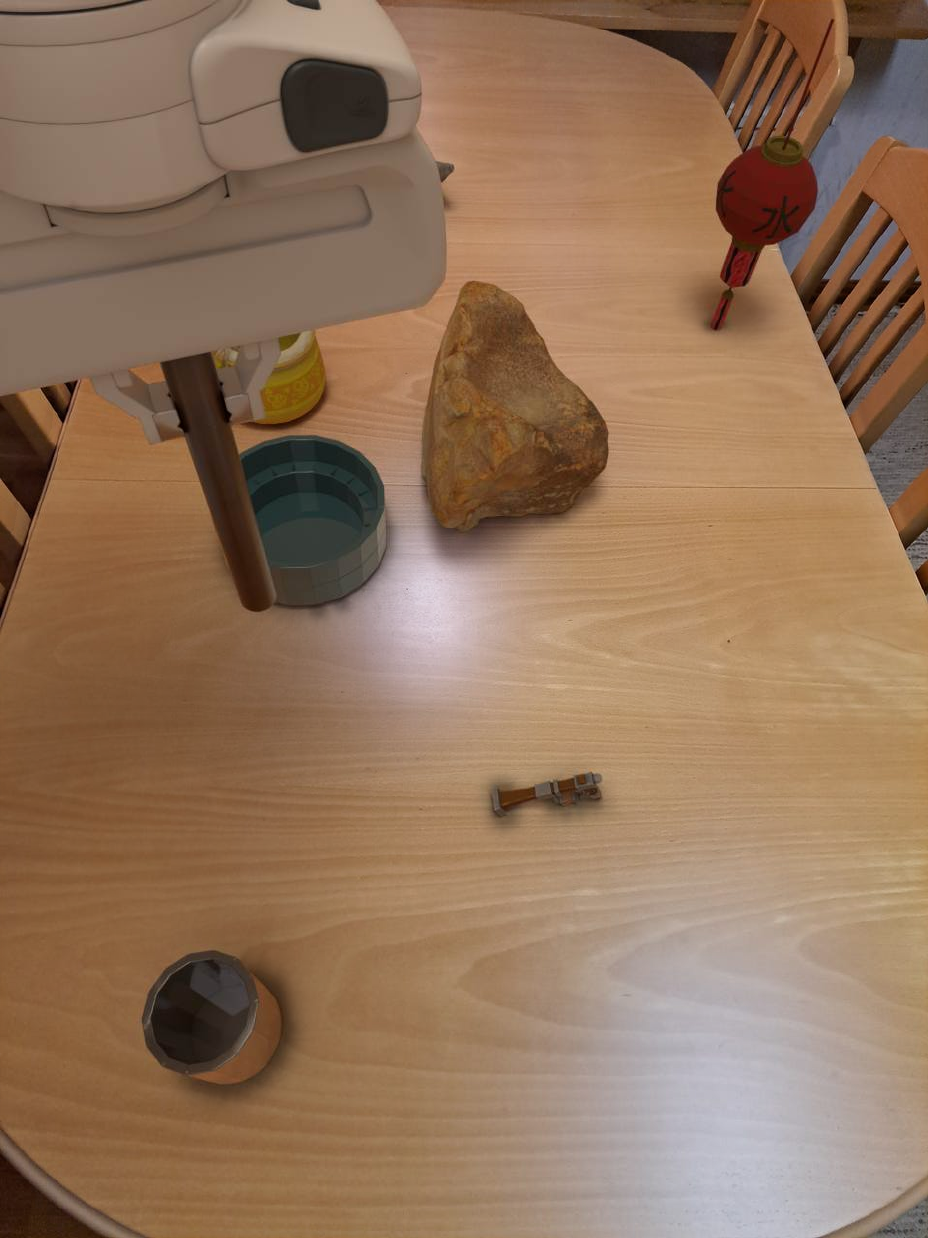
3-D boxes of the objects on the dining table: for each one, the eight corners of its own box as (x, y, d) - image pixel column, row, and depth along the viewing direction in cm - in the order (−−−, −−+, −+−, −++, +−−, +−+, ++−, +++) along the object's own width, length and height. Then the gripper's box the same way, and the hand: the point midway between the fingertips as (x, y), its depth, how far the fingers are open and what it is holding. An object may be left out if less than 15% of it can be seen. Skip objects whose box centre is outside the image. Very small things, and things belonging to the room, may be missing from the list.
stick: (244, 616, 46) (156, 358, 30) (236, 588, 46) (147, 323, 31) (280, 606, 46) (211, 346, 31) (271, 578, 47) (200, 313, 32)
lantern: (680, 353, 89) (788, 44, 64) (668, 297, 94) (763, -11, 69) (766, 356, 90) (906, 51, 64) (749, 300, 95) (873, -4, 69)
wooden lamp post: (614, 804, 61) (601, 786, 57) (512, 825, 63) (493, 809, 59) (610, 780, 62) (596, 761, 58) (509, 803, 64) (490, 785, 60)
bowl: (246, 629, 68) (233, 588, 63) (208, 503, 75) (193, 457, 70) (408, 582, 72) (408, 539, 67) (358, 465, 78) (354, 419, 73)
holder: (197, 1102, 51) (154, 1095, 42) (176, 999, 53) (132, 974, 45) (293, 1061, 52) (270, 1047, 44) (268, 964, 55) (242, 933, 46)
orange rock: (591, 593, 73) (647, 476, 61) (405, 568, 72) (423, 443, 59) (585, 412, 86) (629, 285, 74) (427, 387, 85) (445, 254, 72)
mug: (308, 346, 87) (295, 241, 77) (341, 417, 82) (331, 315, 71) (186, 373, 84) (155, 268, 73) (212, 449, 78) (182, 347, 68)
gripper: (-345, 185, 19) (-55, 543, 31) (474, 67, 24) (455, 417, 36) (-321, 54, 22) (-64, 426, 34) (402, -28, 27) (407, 324, 39)
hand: (206, 421), depth 35 cm, fingers closed on stick, 2 cm apart
